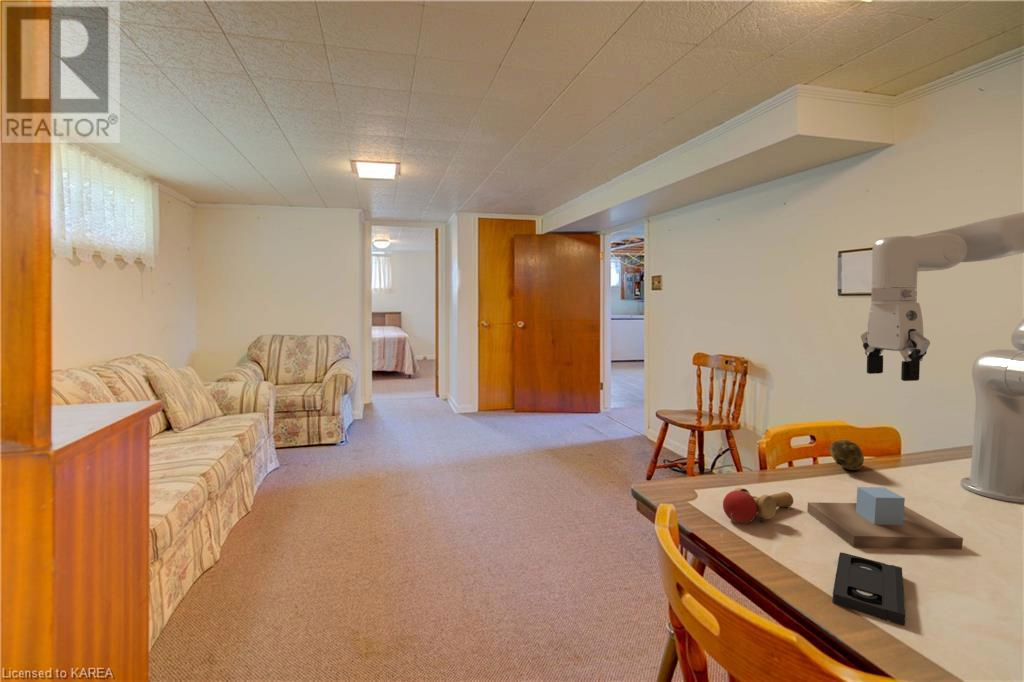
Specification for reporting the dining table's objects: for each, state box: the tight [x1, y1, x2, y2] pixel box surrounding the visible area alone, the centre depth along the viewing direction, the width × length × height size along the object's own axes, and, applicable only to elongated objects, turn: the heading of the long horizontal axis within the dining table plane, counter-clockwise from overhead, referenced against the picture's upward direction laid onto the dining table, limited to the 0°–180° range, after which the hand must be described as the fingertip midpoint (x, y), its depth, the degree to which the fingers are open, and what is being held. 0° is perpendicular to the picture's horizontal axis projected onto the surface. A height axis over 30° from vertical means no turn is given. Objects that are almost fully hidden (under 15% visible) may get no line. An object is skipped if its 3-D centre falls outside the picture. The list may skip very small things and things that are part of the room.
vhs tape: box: [831, 552, 906, 627], centre depth 71 cm, size 14×8×2 cm, turn 142°
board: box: [807, 501, 964, 550], centre depth 89 cm, size 18×14×2 cm
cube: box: [855, 486, 906, 525], centre depth 89 cm, size 5×5×5 cm
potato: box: [828, 439, 865, 471], centre depth 121 cm, size 8×13×8 cm, turn 127°
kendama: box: [722, 487, 794, 524], centre depth 96 cm, size 8×6×18 cm
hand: (891, 376), depth 103 cm, fingers open, 9 cm apart
